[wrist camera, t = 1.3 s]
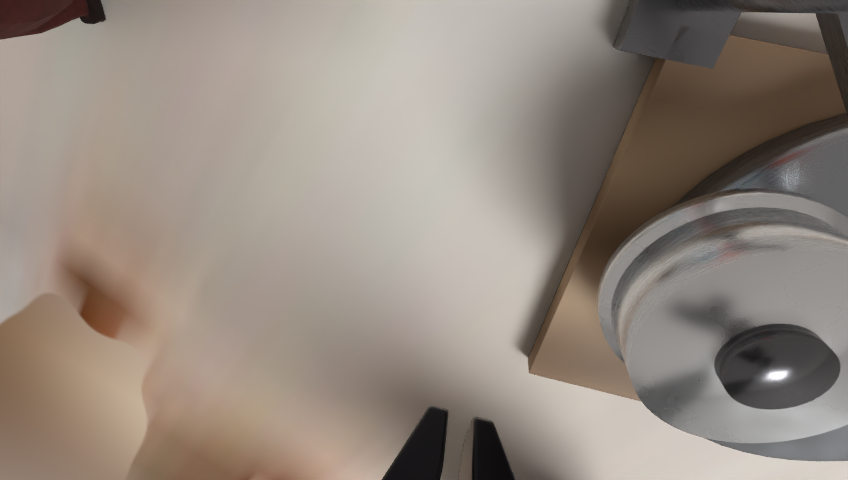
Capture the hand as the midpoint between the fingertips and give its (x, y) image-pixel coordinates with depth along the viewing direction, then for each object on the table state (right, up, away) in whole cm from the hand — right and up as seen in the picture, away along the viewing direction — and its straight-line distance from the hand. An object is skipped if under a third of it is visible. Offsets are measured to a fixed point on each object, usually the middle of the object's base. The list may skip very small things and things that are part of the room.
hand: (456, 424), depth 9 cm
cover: (+10, +2, +6) cm, 12 cm away
